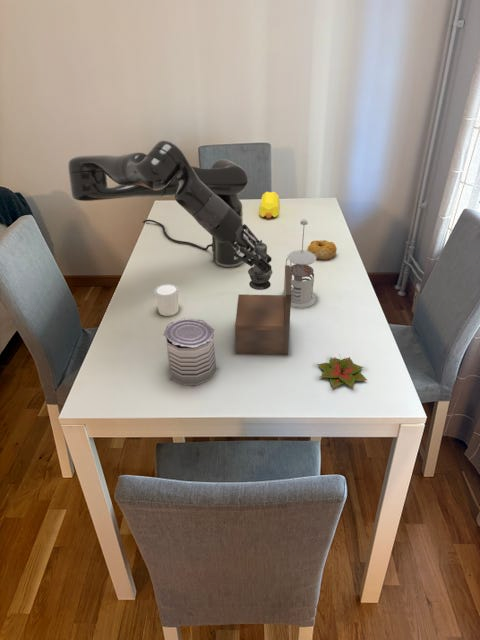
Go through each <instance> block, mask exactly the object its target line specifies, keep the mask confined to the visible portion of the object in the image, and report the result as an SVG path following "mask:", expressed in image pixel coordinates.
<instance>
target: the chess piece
mask: <svg viewBox="0 0 480 640" xmlns="http://www.w3.org/2000/svg"><path fill="white" fill-rule="evenodd" d="M259 241H260V243H257V244H256V245H255V247H256V249H255V250H256V251H257V253H258V254H259V255H260V256H261V257H262V258H263V259H264V260H265V261H267V260H268V256H267V254H268V245H267V244H266V243H264V242H263V240H262V239H260V240H259ZM247 273H248V275H249V278H250V279H251V280H250V281H249V287H250V288H251V289H253V290H256V291H265V290H267V289H269V288H270V287H271V285H272V283H271V282H270V279H271V277H272V275H273V270H272V269H271V270H270V271H269V272H267V273H264V272H263V271H262V270H261V269H260V268H259V267H257V266H256V265H255V264H254V265H253V266H252V267H250V268H248V271H247Z"/></svg>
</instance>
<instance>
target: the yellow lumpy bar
mask: <svg viewBox="0 0 480 640" xmlns="http://www.w3.org/2000/svg"><path fill="white" fill-rule="evenodd" d="M258 214H259V215H260V217H262V218H264V217H265V218H267V219H270V218H272V217H273V218H274V219H275V218H276V217H277V216H278V215H279V214H280V197H279V194H277V192H275V191H265V192H264V193H263V194H262V195H261V200H260V206H259V212H258Z"/></svg>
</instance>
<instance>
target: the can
mask: <svg viewBox="0 0 480 640" xmlns="http://www.w3.org/2000/svg"><path fill="white" fill-rule="evenodd" d="M215 330H216V329H215V328H213V327H212V326H211V325H210V324H209V323H207V322H206V321H205V320H204V319H197V318H186V317H184V318H180V319H177V320H175V321H172V322H169V323H167V325H166V327H165V330H164V333H163V334H162V336H164V337H165V344H166V351H167V358H168V359H167V360H168V367H169V373H170V376H171V379H172V380H173V381H175V382H176V383H179V384H181V385H182V386H200V385H201V384H204V383H205V382H208V381H210V380H211V379H212V378H213V376H214V374H215V373H216V371H217V367H216V366H217V365H216V347H215Z"/></svg>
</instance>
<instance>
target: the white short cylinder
mask: <svg viewBox="0 0 480 640" xmlns="http://www.w3.org/2000/svg"><path fill="white" fill-rule="evenodd" d="M153 292H154V296H155V301H156V306H157V310H158V313H159V314H160V315H161V316H164V317H170V316H174V315H176V314H177V313H178V312H179V298H180V297H179V294H180V293H179V287H178V286H177V285H176V284H174V283H163V284H160V285H157V286H156V287H155V288H154V290H153Z"/></svg>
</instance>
